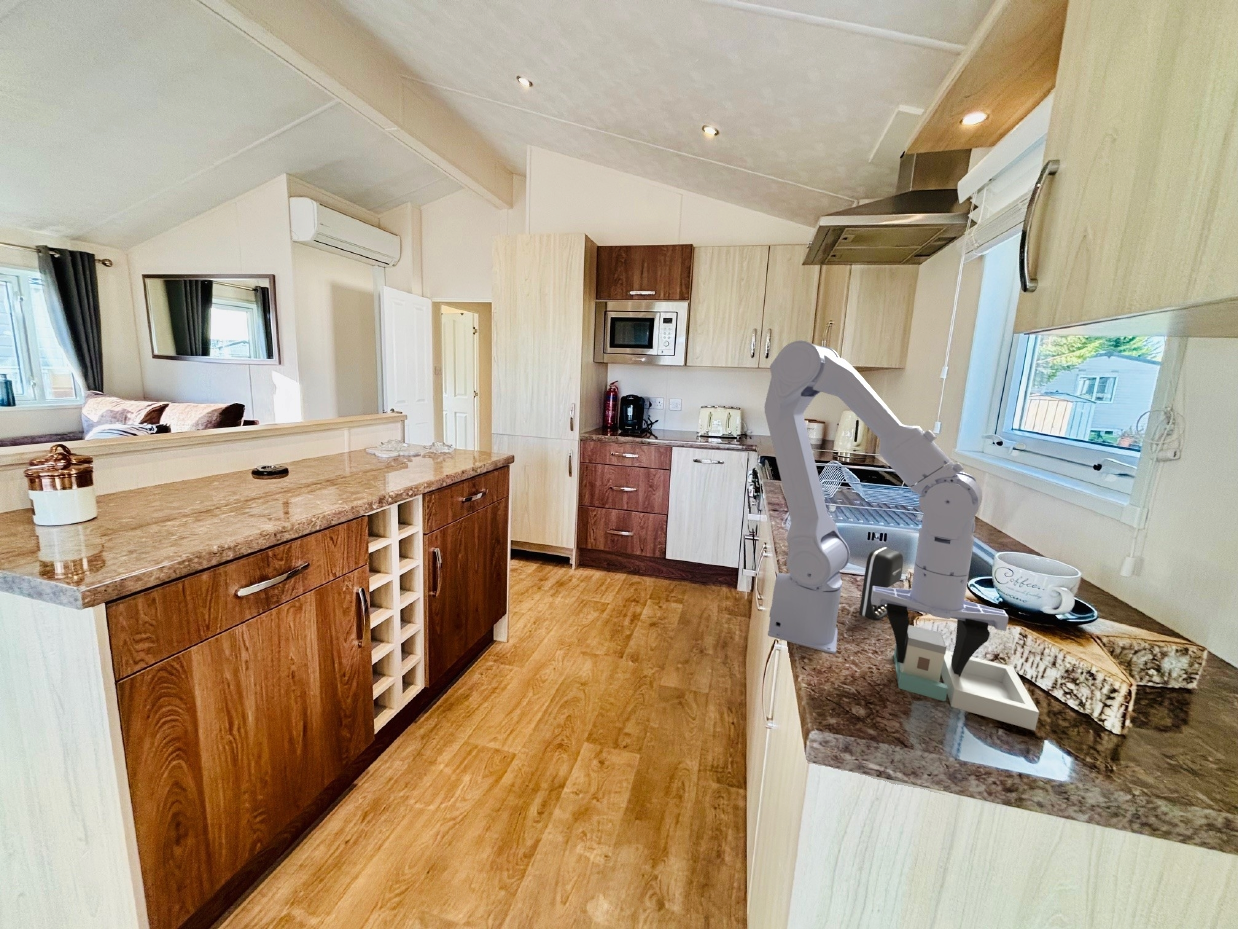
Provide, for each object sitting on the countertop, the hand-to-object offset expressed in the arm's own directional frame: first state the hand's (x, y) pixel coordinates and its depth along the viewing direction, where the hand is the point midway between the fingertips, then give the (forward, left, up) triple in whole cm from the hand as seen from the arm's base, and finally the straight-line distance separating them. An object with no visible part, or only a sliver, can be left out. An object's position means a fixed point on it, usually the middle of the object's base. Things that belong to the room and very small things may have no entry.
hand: (926, 665), depth 62 cm
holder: (-1, 0, -2) cm, 2 cm away
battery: (-5, +18, -2) cm, 19 cm away
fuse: (-1, 0, -2) cm, 2 cm away
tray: (+6, 0, -2) cm, 7 cm away
